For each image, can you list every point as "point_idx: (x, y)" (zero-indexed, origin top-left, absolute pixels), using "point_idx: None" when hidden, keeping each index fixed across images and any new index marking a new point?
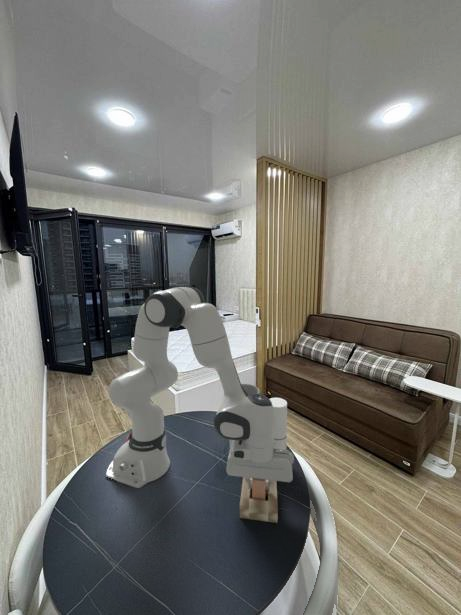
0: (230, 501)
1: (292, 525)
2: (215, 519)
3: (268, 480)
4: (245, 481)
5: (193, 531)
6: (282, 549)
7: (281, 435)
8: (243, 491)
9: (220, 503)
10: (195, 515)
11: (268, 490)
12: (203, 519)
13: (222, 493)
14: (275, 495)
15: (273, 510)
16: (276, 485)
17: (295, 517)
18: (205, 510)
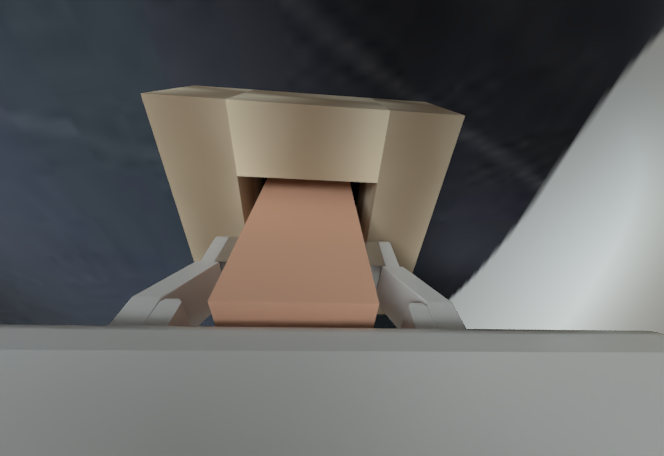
0: (158, 200)
1: (439, 270)
2: (136, 276)
3: (389, 133)
4: (188, 164)
5: (86, 312)
6: (381, 324)
7: None
8: (203, 243)
9: (113, 215)
10: (42, 271)
11: (372, 223)
12: (88, 280)
13: (84, 156)
14: (410, 251)
15: (378, 311)
16: (442, 180)
17: (466, 244)
18: (67, 250)
